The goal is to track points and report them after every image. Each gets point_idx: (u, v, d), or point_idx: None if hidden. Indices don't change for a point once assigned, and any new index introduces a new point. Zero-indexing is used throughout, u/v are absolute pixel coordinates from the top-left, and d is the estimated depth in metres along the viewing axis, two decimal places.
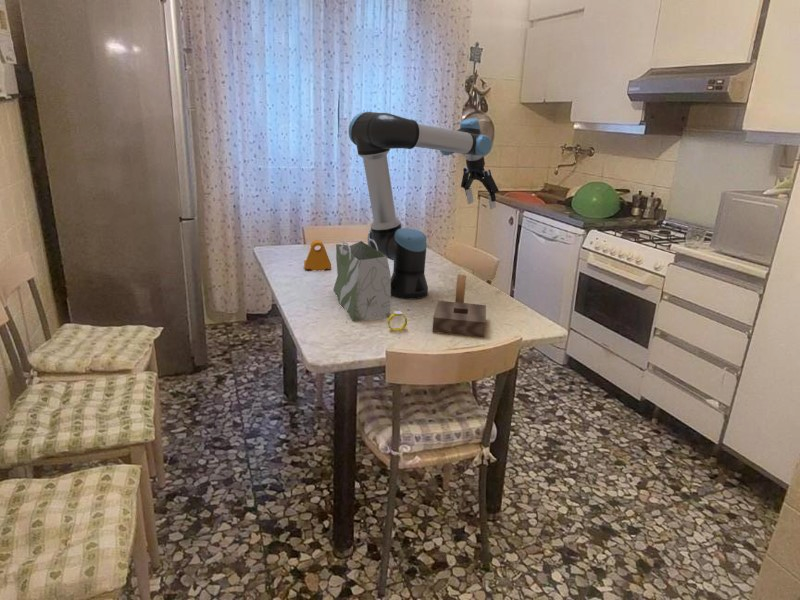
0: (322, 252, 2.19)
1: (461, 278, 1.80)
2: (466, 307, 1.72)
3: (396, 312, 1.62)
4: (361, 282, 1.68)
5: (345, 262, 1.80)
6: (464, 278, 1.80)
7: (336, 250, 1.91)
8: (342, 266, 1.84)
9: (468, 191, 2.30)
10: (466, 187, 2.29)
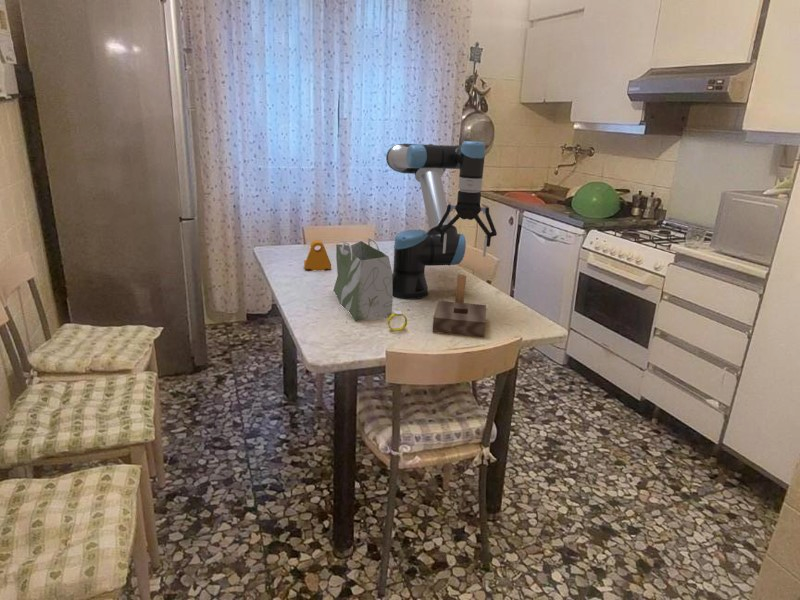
0: (322, 252, 2.19)
1: (461, 278, 1.80)
2: (466, 307, 1.72)
3: (396, 312, 1.62)
4: (363, 282, 1.68)
5: (346, 262, 1.80)
6: (464, 278, 1.80)
7: (336, 250, 1.90)
8: (343, 266, 1.84)
9: None
10: None
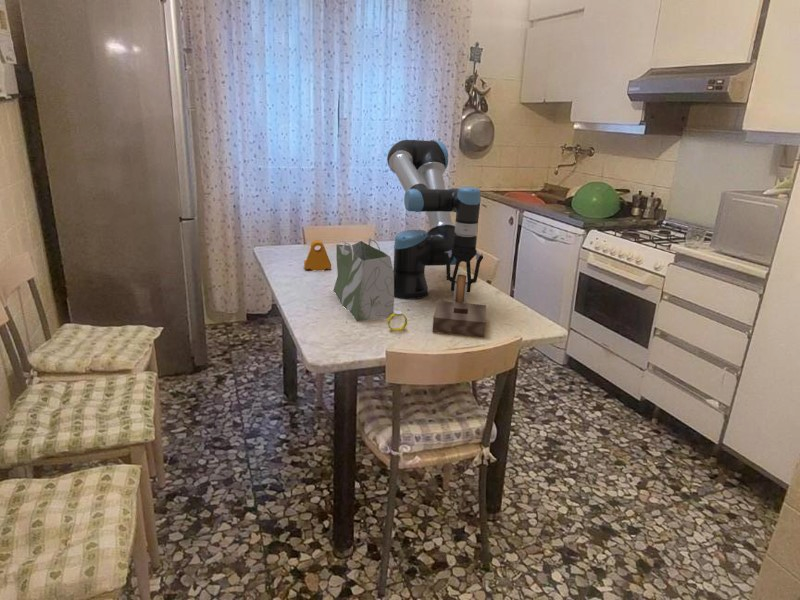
0: (322, 252, 2.19)
1: (461, 278, 1.80)
2: (466, 307, 1.72)
3: (396, 312, 1.62)
4: (365, 282, 1.68)
5: (347, 262, 1.80)
6: (464, 278, 1.80)
7: None
8: (343, 266, 1.84)
9: (465, 284, 1.83)
10: None
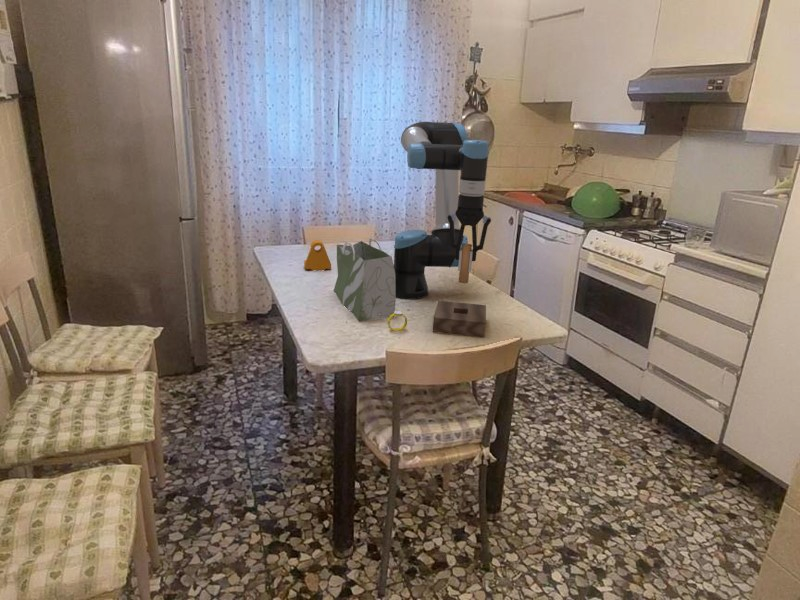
0: (322, 252, 2.19)
1: (466, 247, 1.60)
2: (466, 307, 1.72)
3: (396, 312, 1.62)
4: (367, 282, 1.69)
5: (348, 262, 1.80)
6: (469, 247, 1.61)
7: (337, 250, 1.90)
8: (344, 266, 1.84)
9: None
10: None
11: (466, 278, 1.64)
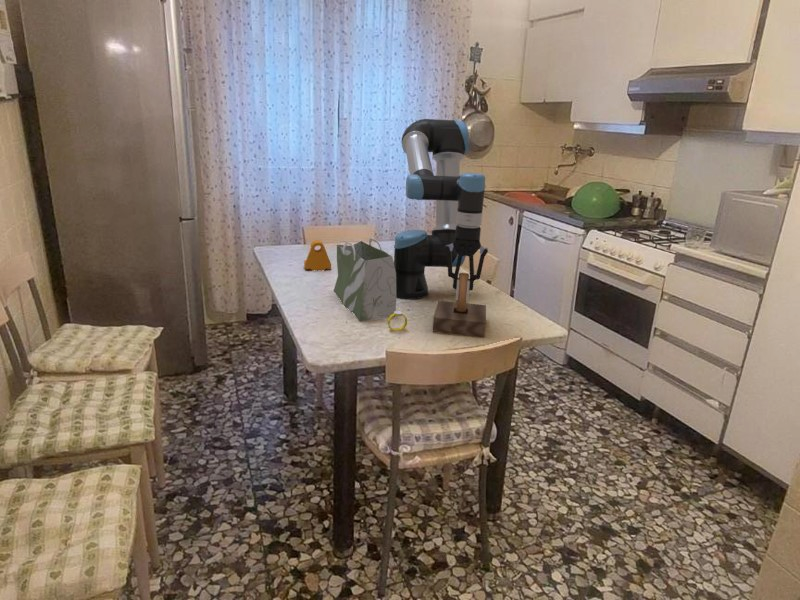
0: (322, 252, 2.19)
1: (463, 277, 1.63)
2: (466, 307, 1.72)
3: (396, 312, 1.62)
4: (368, 282, 1.69)
5: (348, 262, 1.80)
6: (466, 277, 1.64)
7: (337, 250, 1.90)
8: (344, 266, 1.84)
9: None
10: None
11: (464, 307, 1.67)
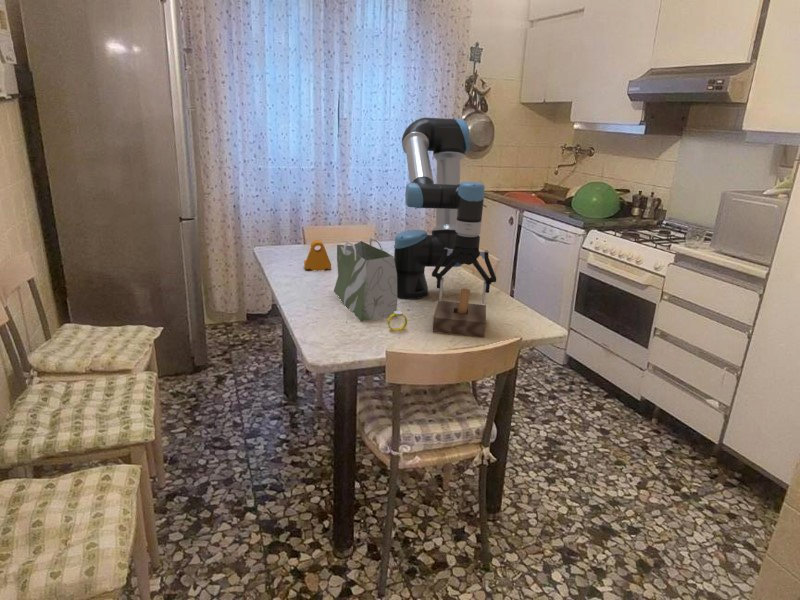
0: (322, 252, 2.19)
1: (465, 292, 1.65)
2: None
3: (396, 312, 1.62)
4: (369, 282, 1.69)
5: (349, 262, 1.80)
6: (468, 293, 1.66)
7: (337, 250, 1.90)
8: (345, 266, 1.84)
9: None
10: None
11: None
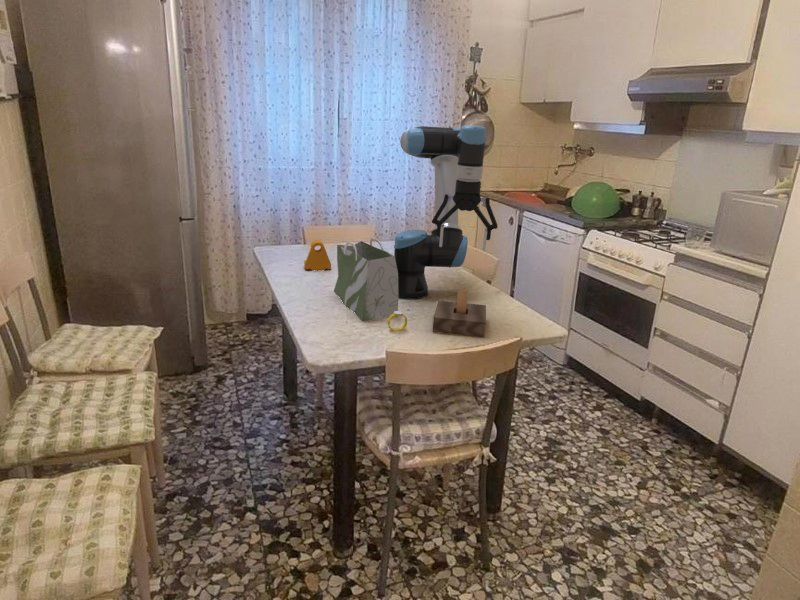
0: (322, 252, 2.19)
1: (462, 293, 1.65)
2: (466, 307, 1.72)
3: (396, 312, 1.62)
4: (370, 282, 1.69)
5: (349, 262, 1.80)
6: (465, 293, 1.65)
7: (337, 251, 1.90)
8: (345, 267, 1.83)
9: None
10: None
11: None
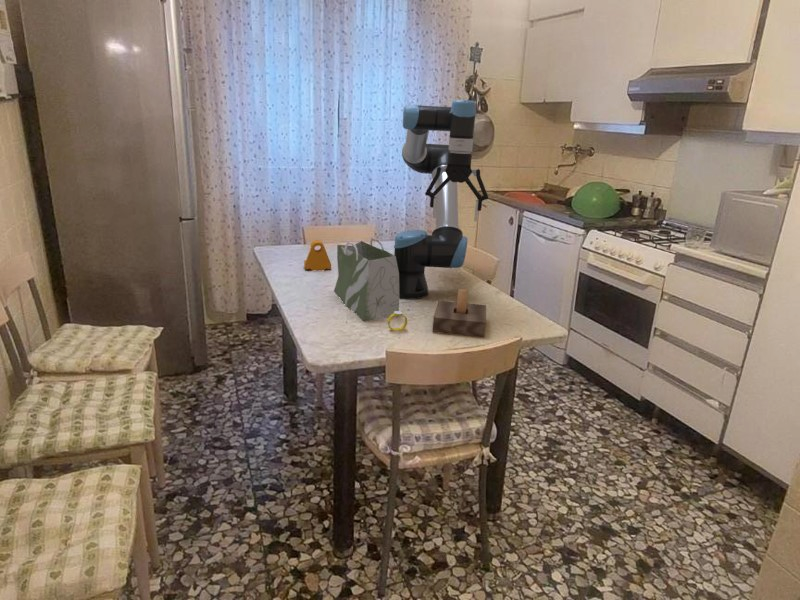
0: (322, 252, 2.19)
1: (462, 293, 1.65)
2: (466, 307, 1.72)
3: (396, 312, 1.62)
4: (371, 282, 1.69)
5: (350, 262, 1.80)
6: (465, 293, 1.65)
7: (337, 251, 1.90)
8: (346, 267, 1.83)
9: None
10: None
11: None
